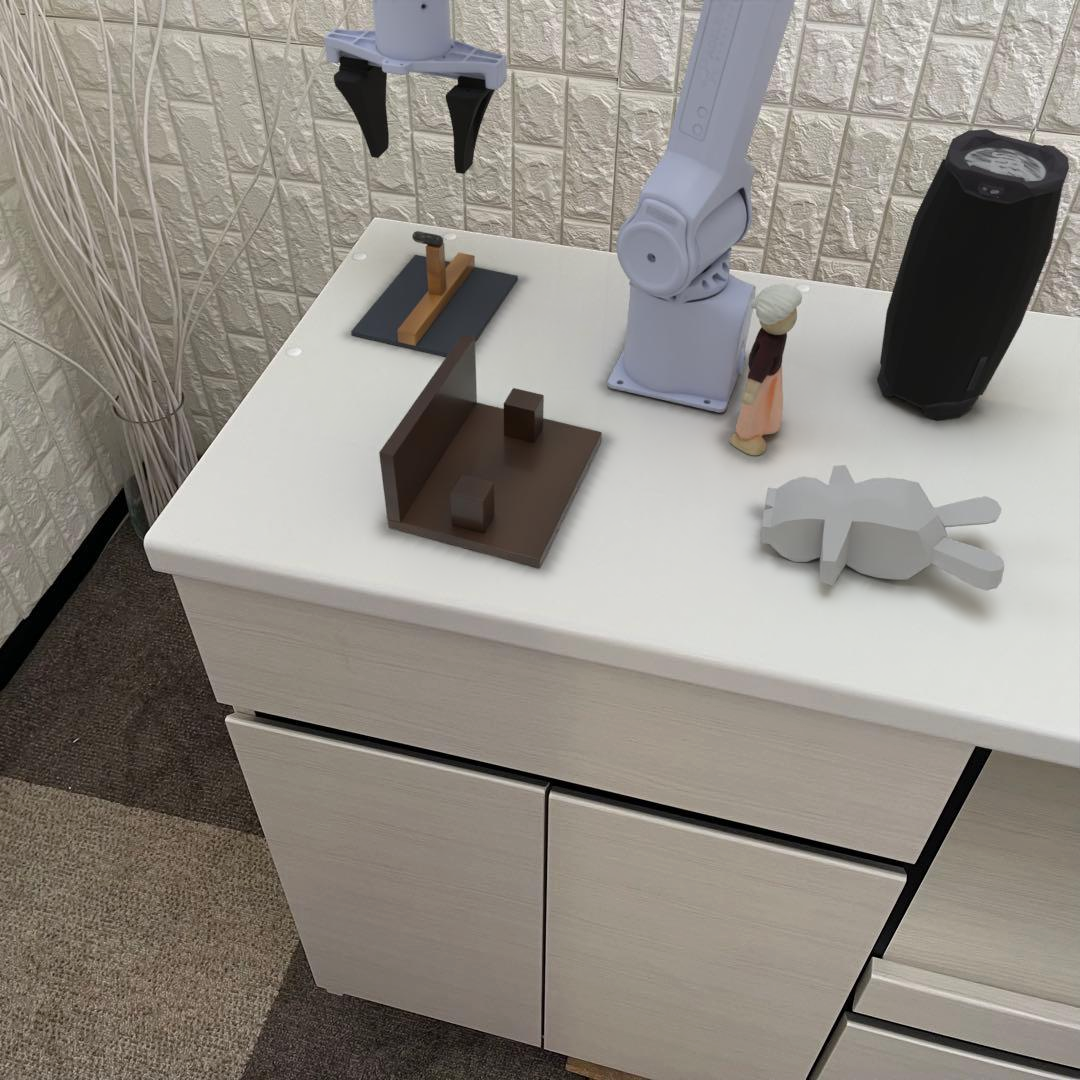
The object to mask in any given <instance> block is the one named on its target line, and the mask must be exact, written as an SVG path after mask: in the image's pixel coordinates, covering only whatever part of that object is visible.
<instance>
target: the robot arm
mask: <svg viewBox="0 0 1080 1080" xmlns="http://www.w3.org/2000/svg"><path fill="white" fill-rule="evenodd" d="M795 1H796V0H703V3H702V6H701V11H700V15H699V19H698V23H697V27H696V30H695V35H694V39H693V43H692V45H691V46H692V47H691V49H690V50H691V51H690V54H689V57H688V63H687V66H686V70H685V74H684V77H683V78H684V79H683V82H682V86H681V90H680V94H679V98H678V102H677V105H676V110H675V114H674V118H673V122H672V126H671V130H670V133H669V137H668V141H667V145H666V149H665V152H664V153H663V155H662V156H661V159H659V162H658V163H657V165H656V166H655V168H654V169H653V171H652V173H651V174H650V175H649V177H648V179H647V180H646V182H645V184H644V185H643V187H642V188H641V190H640V193H639V196H638V201H637V205H636V207H635V209H634V211H633V212H632V214H631V215H630V216H629V217H627V219H625V220H624V222H623V223H622V225H621V226H620V228H619V230H618V233H617V235H616V242H615V243H616V245H615V249H616V255H617V259H618V262H619V265H620V267H621V269H622V271H623V273H624V274H625V276H626V277H627V279H628V280H629V283H628V285H629V286H630V287H629V297H628V309H627V320H626V321H627V322H626V329H625V330H626V331H625V341H624V348H623V349H622V352H621V354H620V356H619V357H618V360H617V362H616V363H615V366H614V368H613V369H612V371H611V373H610V376H609V377H608V379H607V387H609V388H610V389H613V390H617V391H622V392H627V393H631V394H635V395H640V396H643V397H647V398H648V397H649V398H652V399H657V400H662V401H666V402H671V403H675V404H679V405H684V406H688V407H692V408H697V409H702V410H706V411H710V412H715V413H724V412H725V411H726V410H727V407H728V405H729V402H730V400H731V396H732V393H733V390H734V388H735V385H736V382H737V379H738V377H739V376H741V375H742V373H743V370H744V367H745V364H746V358H747V352H746V348H747V341H748V336H749V333H750V332H749V331H750V326H751V322H752V316H753V310H754V308H752V307H751V301H752V300H753V299H754V298H755V297H756V293H757V286H756V285H755V284H752V283H750V282H747V281H744V280H742V279H741V278H740V279H739V278H738V277H736V276H735V275H733V274H731V273H730V272H731V271H730V270H731V269H730V268H731V263H730V262H731V255H732V247H734V246H735V245H737V244H739V243H740V242H741V241H742V240H743V239H744V238H745V237H746V236H747V234H748V232H749V231H750V228H751V226H752V223H753V204H752V197H751V194H752V193H751V191H752V185H753V179H754V177H755V174H756V167H755V166H754V164H752V162H751V161H750V160H749V159H748V158H747V157H746V156H747V153H748V150H749V147H750V144H751V141H752V138H753V134H754V131H755V128H756V125H757V122H758V120H759V119H758V118H759V115H760V112H761V109H762V106H763V103H764V100H765V97H766V93H767V90H768V87H769V84H770V81H771V78H772V75H773V71H774V68H775V65H776V62H777V59H778V56H779V53H780V50H781V46H782V43H783V40H784V36H785V32H786V31H787V27H788V24H789V21H790V18H791V14H792V11H793V8H794V5H795ZM450 4H451V3H450V0H372V9H373V10H372V11H373V20H374V30H370V29H369V30H363V29H361V30H359V29H345V28H333V29H332V30H331V31H330V32H329V33H327V34H326V35H325V36H323V41H324V49H325V50H324V51H325V59H326V62H327V63H332V64H339V66H338V71H336V73H335V74H334V75H333V82H334V86H335V87H336V88H337V90H338V91H339V92H340V94H341V95H342V96H343V98H344V99H345V101H346V102H347V104H348V106H349V107H350V109H351V111H352V112H353V115H354V117H355V118H356V120H357V123H358V125H359V127H360V129H361V131H362V135H363V137H364V139H365V142H366V146H367V149H368V151H369V155H370V156H371V158H375V159H379V158H380V157H381V156H382V155H383V154H384V153H385V152H386V151H387V150H388V149H389V145H390V144H389V142H390V134H389V123H388V112H387V78H388V74H390V75H397V76H406V75H408V74H410V73H416V74H421V75H427V76H434V77H439V78H440V77H441V78H445V79H451V80H457V84H455V85H453V87H452V88H450V90H448V91H447V92H446V94H445V102H446V105H447V109H448V113H449V116H450V122H451V128H452V134H453V164H454V169H455V173H456V174H461V175H465V174H466V172H467V171H468V170H469V169H470V168H471V167H472V166H473V163H474V156H475V150H476V145H477V140H478V136H479V132H480V128H481V125H482V122H483V119H484V117H485V114H486V112H487V109H488V107H489V105H490V102H491V100H492V97H493V95H494V93H495V91H498V90H499V89H500V88H501V87H503V86H504V84H505V83H506V82H507V80H508V65H507V64H508V61H507V58H508V57H507V55H506V54H502V53H496V52H492V51H489V50H486V49H482V48H480V47H477V46H474V45H471V44H468V43H465V42H462V41H459V40H457V39H454V38H452V29H451V6H450Z"/></svg>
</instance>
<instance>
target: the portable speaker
mask: <svg viewBox="0 0 1080 1080" xmlns="http://www.w3.org/2000/svg"><path fill="white" fill-rule="evenodd" d="M940 162H941V163H940V164H939V167H938V168H937V171H936V173H935V175H934V177H933V179H932V181H931V183H930V185H929V187H928V189H927V192H926V193H925V195H924V197H923V200H922V201H921V204H920V206H919V208H918V210H917V212H916V214H915V216H914V219H913V221H912V224H911V228H910V231H909V235H908V238H907V242H906V245H905V248H904V252H903V255H902V259H901V261H900V265H899V268H898V272H897V274H896V275H897V276H896V278H895V281H894V282H895V283H894V286H893V288H892V291H891V296H890V300H889V302H888V306H887V308H886V314H885V321H884V330H883V337H882V345H881V353H880V359H879V365H880V368H879V372H878V375H877V377H876V380H877V383H878V386H879V389H880V391H881V394H882V396H886V397H893V396H895V397H898V398H900V399H902V400H904V401H906V402H909V403H911V404H912V405H915V406H917V407H919V408H921V409H922V411H923V412H924V414H925V416H926V417H927V418H930V419H933V420H936V421H941V420H950V419H954V418H961V417H963V416H964V415H965V414H967V413H969V411H971V410H972V408H973V407H974V405H975V403H976V402H977V401H978V399H979V397H981V396H983V395H984V393H985V391H986V390H987V388H988V386H989V384H990V382H991V381H992V379H993V377H994V375H995V374H996V371H997V369H998V368H999V366H1000V364H1001V362H1002V360H1003V358H1004V357H1005V355H1006V353H1007V352H1008V349H1009V348H1010V346H1011V344H1012V342H1013V341H1014V339H1015V336H1016V335H1017V333H1018V331H1019V329H1020V327H1021V326H1022V323H1023V321H1024V318H1025V315H1026V313H1027V311H1028V308H1029V305H1030V302H1031V299H1032V297H1033V295H1034V292H1035V290H1036V287H1037V284H1038V283H1039V280H1040V277H1041V274H1042V272H1043V269H1044V266H1045V264H1046V261H1047V259H1048V256H1049V254H1050V251H1051V249H1052V244H1053V241H1054V235H1055V234H1054V233H1055V229H1056V224H1057V220H1058V219H1057V218H1058V213H1059V207H1060V203H1061V197H1062V193H1063V187H1064V185H1065V181H1066V178H1067V176H1068V173H1069V170H1070V163H1069V157H1068V156H1067V155H1066V154H1065V153H1063V152H1062V151H1061V150H1060V149H1059V148H1057V147H1056V146H1055V145H1050V144H1037V143H1034V142H1030V141H1026V140H1021V139H1018V138H1015V137H1010V136H1006V135H1004V134H1003V135H1002V134H998V133H996V132H994V131H992V130H990V129H987V128H986V129H971V130H969V129H968V130H967V131H964V132H963V133H960V134H959V135H957V136H955V137H954V138H952V139H951V142H950V144H949V147H948V149H947V153H946V155H945V158H942V160H941V161H940Z"/></svg>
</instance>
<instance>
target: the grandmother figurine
mask: <svg viewBox="0 0 1080 1080" xmlns="http://www.w3.org/2000/svg"><path fill="white" fill-rule="evenodd" d="M802 301H803V294H802V292H801V291H800V290H799V289H798V288H796V287H794V286H792V285H789V284H783V283H782V284H781V283H780V284H777V283H776V284H771V285H769V286H767V287H765V288H763V289H762V290H761V291H760V292H759V293H758V294H757V295H755V298H754V299H753V300H752V301H751V307H752V308H753V310H755V315H756V317H757V318H758V321H759V324H760V326H761V327H760V329H759V330H758V332H757V335H756V337H755V340H754V343H753V344H752V346H751V349H750V352H749V355H748V362H747V366H748V369H747V376H746V382H745V385H744V390H743V392H742V393H741V395H740V396H741V397H740V400H741V403H742V405H741V409H740V412H739V415H738V417H737V419H736V423H735V425H736V426H735V432H734V433H733V434H732V435H731V436H730V438H729V443H730V444H731V445H732V446H733V447H735V448H736V449H737V450H740V451H742V452H743V453H745V454H747V455H750V456H759V455H762V454H763V453H764V452H765V451H766V450H767V443H766V440H765V438H763V436H767V435H773V434H776V433H777V432H778V431H780V430H781V427H782V420H783V409H784V387H783V386H784V383H783V380H784V379H783V378H784V377H783V376H784V375H783V365H782V364H783V357H784V351H785V348H786V345H787V344H786V343H787V338H788V333H789V332H790V331H791V330H792V329H793V328H794V327H795V326H796V323H797V321H798V310H797V308H798V306H800V305H801V303H802Z"/></svg>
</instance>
